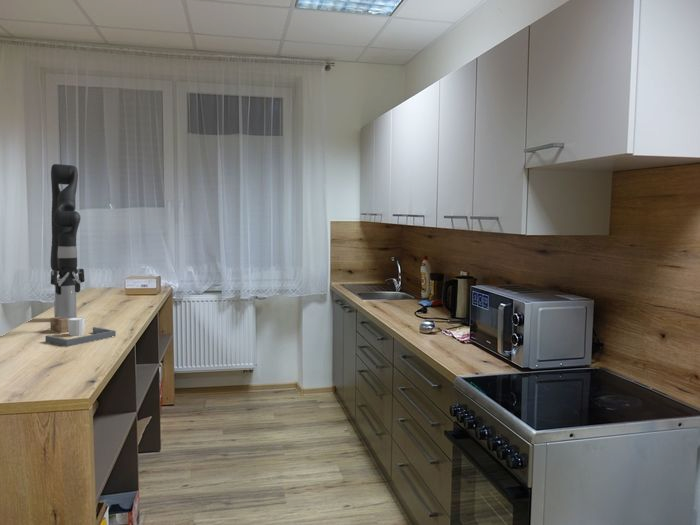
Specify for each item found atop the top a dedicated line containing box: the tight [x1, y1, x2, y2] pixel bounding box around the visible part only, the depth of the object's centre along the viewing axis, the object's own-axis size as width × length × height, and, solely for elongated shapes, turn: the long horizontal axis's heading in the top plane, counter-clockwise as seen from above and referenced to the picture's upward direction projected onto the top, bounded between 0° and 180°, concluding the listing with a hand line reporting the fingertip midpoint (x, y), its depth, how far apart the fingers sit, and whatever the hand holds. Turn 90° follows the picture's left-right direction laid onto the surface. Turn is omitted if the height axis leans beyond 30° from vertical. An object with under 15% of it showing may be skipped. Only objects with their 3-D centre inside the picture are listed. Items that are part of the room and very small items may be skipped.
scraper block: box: [49, 316, 69, 334], centre depth 236 cm, size 8×4×6 cm, turn 60°
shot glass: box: [67, 317, 86, 337], centre depth 230 cm, size 7×7×7 cm
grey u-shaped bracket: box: [44, 326, 117, 347], centre depth 222 cm, size 14×22×2 cm, turn 151°
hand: (68, 293), depth 234 cm, fingers open, 8 cm apart
